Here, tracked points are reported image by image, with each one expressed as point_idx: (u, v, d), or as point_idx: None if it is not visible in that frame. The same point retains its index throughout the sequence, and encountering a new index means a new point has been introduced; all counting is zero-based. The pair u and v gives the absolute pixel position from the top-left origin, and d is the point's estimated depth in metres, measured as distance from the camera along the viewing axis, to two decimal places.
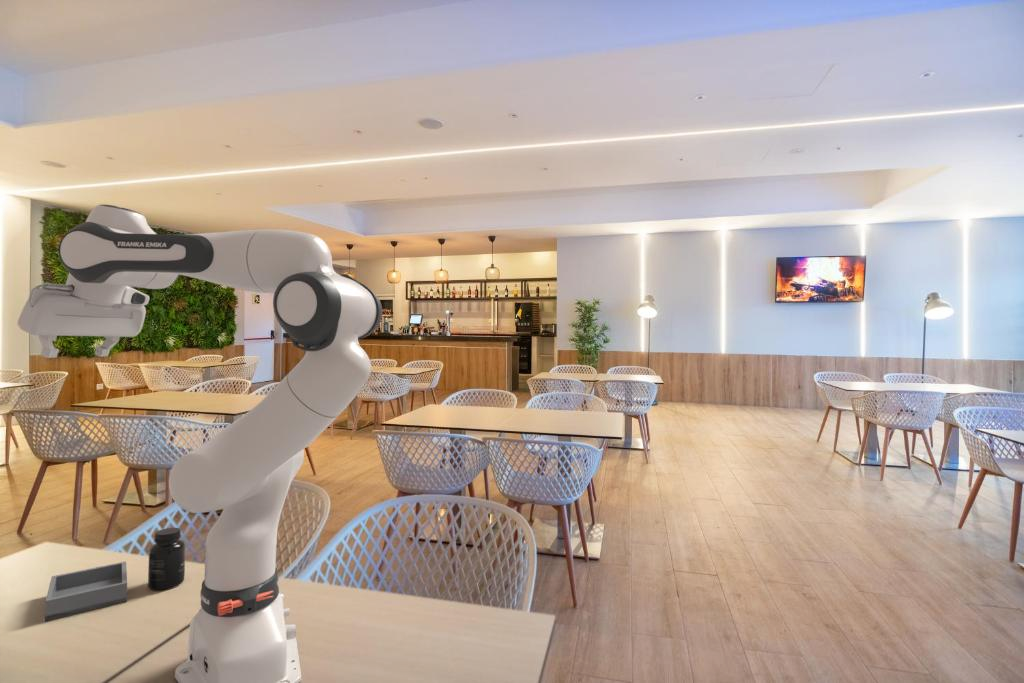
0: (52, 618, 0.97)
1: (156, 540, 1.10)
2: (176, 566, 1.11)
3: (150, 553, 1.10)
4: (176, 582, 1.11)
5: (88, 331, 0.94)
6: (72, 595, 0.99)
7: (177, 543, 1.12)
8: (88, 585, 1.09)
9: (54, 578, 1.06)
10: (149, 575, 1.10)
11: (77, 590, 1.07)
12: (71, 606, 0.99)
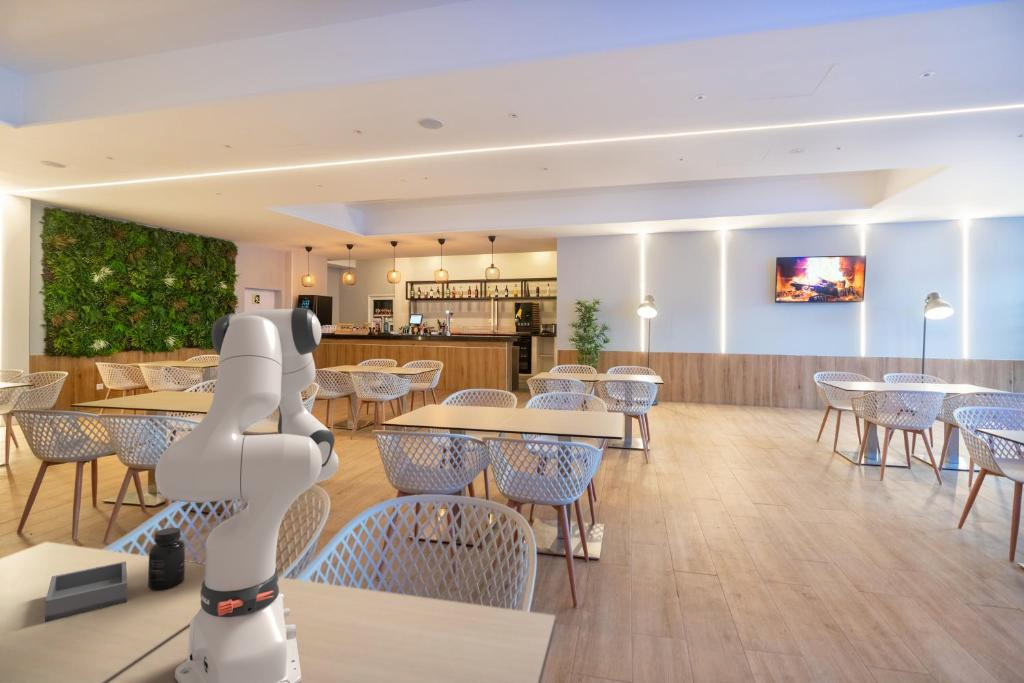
0: (52, 618, 0.97)
1: (156, 540, 1.10)
2: (176, 566, 1.11)
3: (150, 553, 1.10)
4: (176, 582, 1.11)
5: None
6: (72, 595, 0.99)
7: (177, 543, 1.12)
8: (88, 585, 1.09)
9: (54, 578, 1.06)
10: (149, 575, 1.10)
11: (77, 590, 1.07)
12: (71, 606, 0.99)
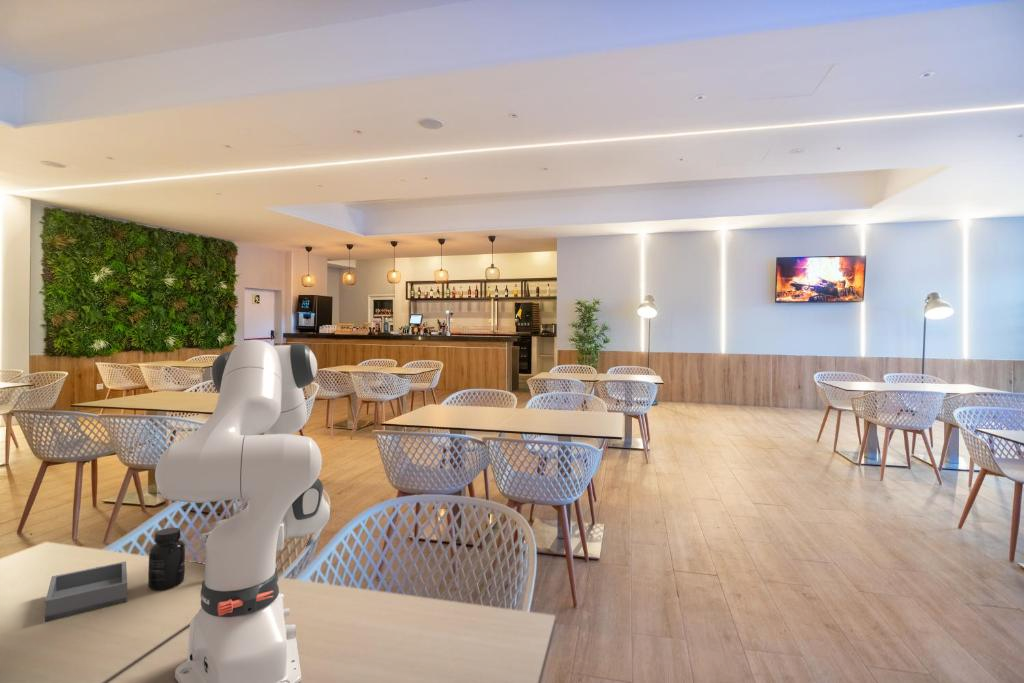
0: (52, 618, 0.97)
1: (156, 540, 1.10)
2: (176, 566, 1.11)
3: (150, 553, 1.10)
4: (176, 582, 1.11)
5: None
6: (72, 595, 0.99)
7: (177, 543, 1.12)
8: (88, 585, 1.09)
9: (54, 578, 1.06)
10: (149, 575, 1.10)
11: (77, 590, 1.07)
12: (71, 606, 0.99)
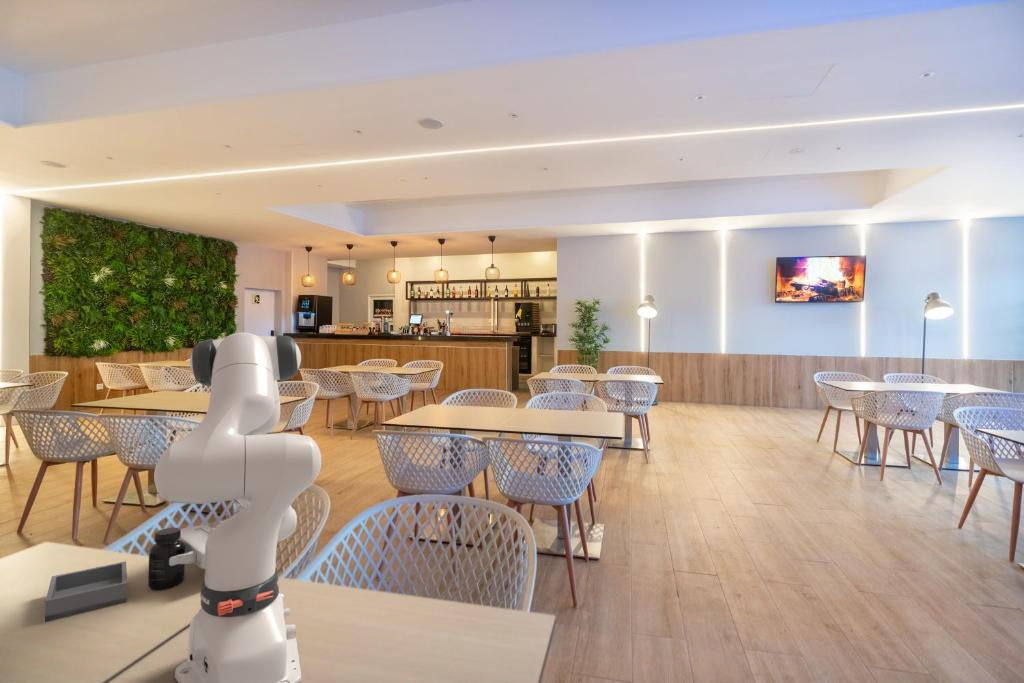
0: (52, 618, 0.97)
1: (156, 540, 1.10)
2: (176, 566, 1.11)
3: (150, 553, 1.10)
4: (176, 582, 1.11)
5: (190, 539, 1.17)
6: (72, 595, 0.99)
7: (177, 543, 1.12)
8: (88, 585, 1.09)
9: (54, 578, 1.06)
10: (149, 575, 1.10)
11: (77, 590, 1.07)
12: (71, 606, 0.99)
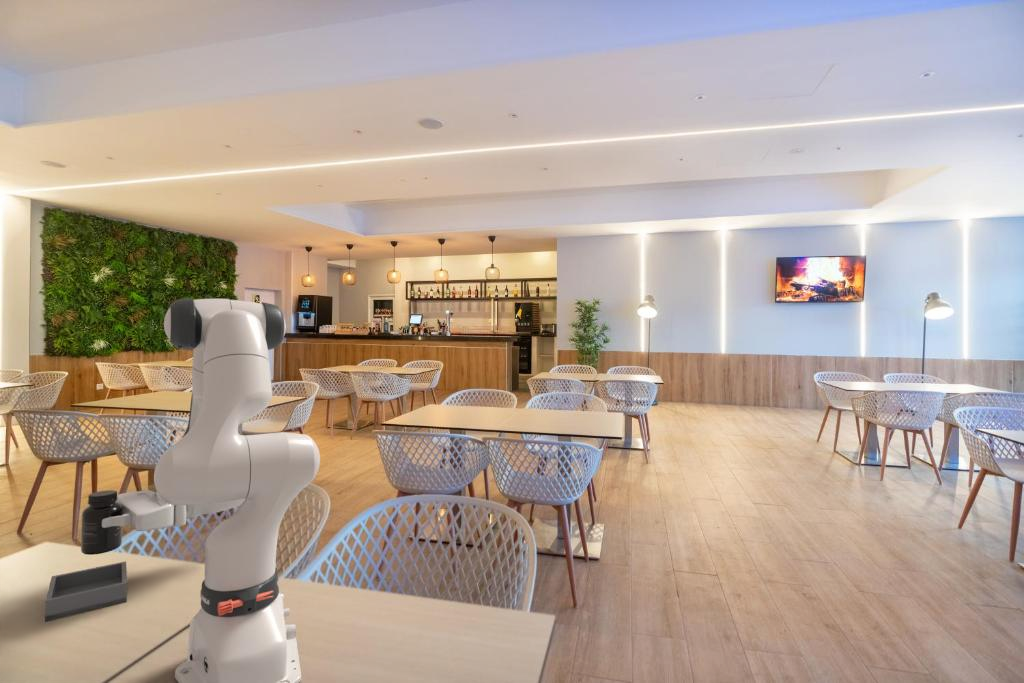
0: (52, 618, 0.97)
1: (89, 502, 1.05)
2: (111, 530, 1.05)
3: (82, 515, 1.04)
4: (111, 546, 1.05)
5: (129, 502, 1.11)
6: (72, 595, 0.99)
7: (112, 505, 1.06)
8: (88, 585, 1.09)
9: (54, 578, 1.06)
10: (82, 538, 1.04)
11: (77, 590, 1.07)
12: (71, 606, 0.99)
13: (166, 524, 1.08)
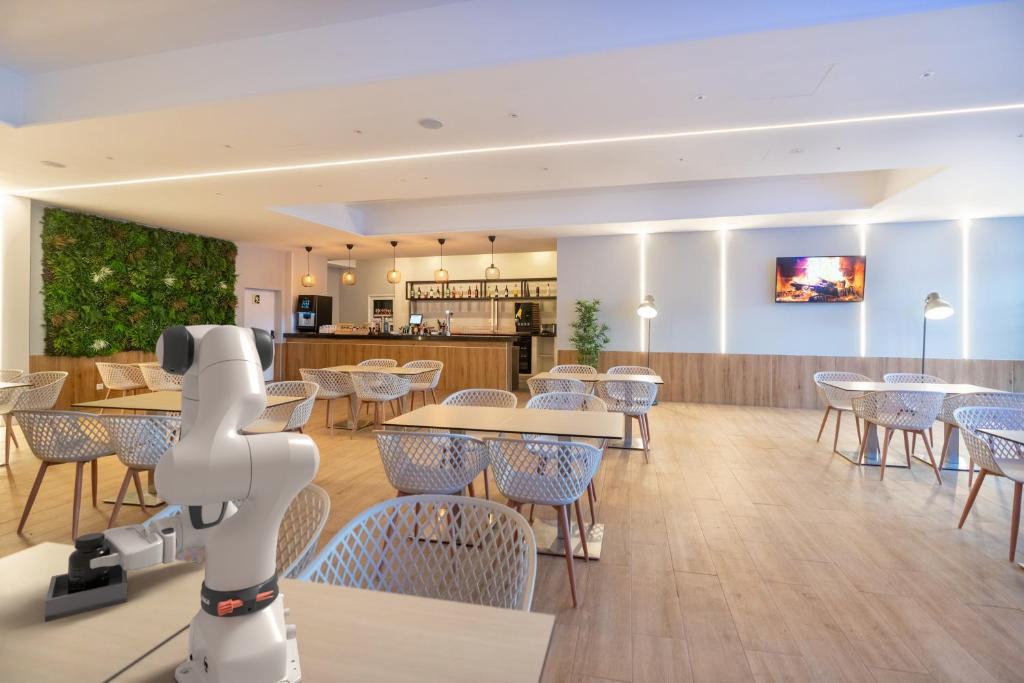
0: (52, 618, 0.97)
1: (76, 546, 1.04)
2: (98, 574, 1.05)
3: (69, 560, 1.03)
4: None
5: (117, 539, 1.10)
6: (72, 595, 0.99)
7: (99, 549, 1.06)
8: None
9: (54, 578, 1.06)
10: (68, 583, 1.03)
11: None
12: (71, 606, 0.99)
13: (155, 562, 1.07)
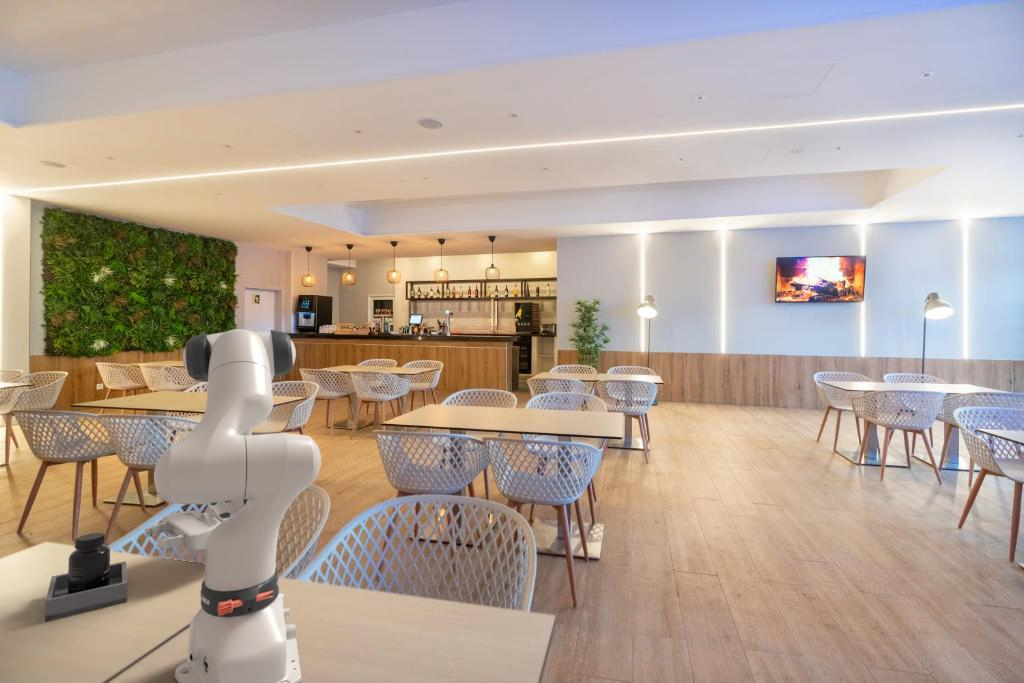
0: (52, 618, 0.97)
1: (76, 546, 1.04)
2: (98, 574, 1.05)
3: (69, 560, 1.03)
4: None
5: (179, 523, 1.19)
6: (72, 595, 0.99)
7: (99, 549, 1.06)
8: None
9: (54, 578, 1.06)
10: (68, 583, 1.03)
11: None
12: (71, 606, 0.99)
13: None
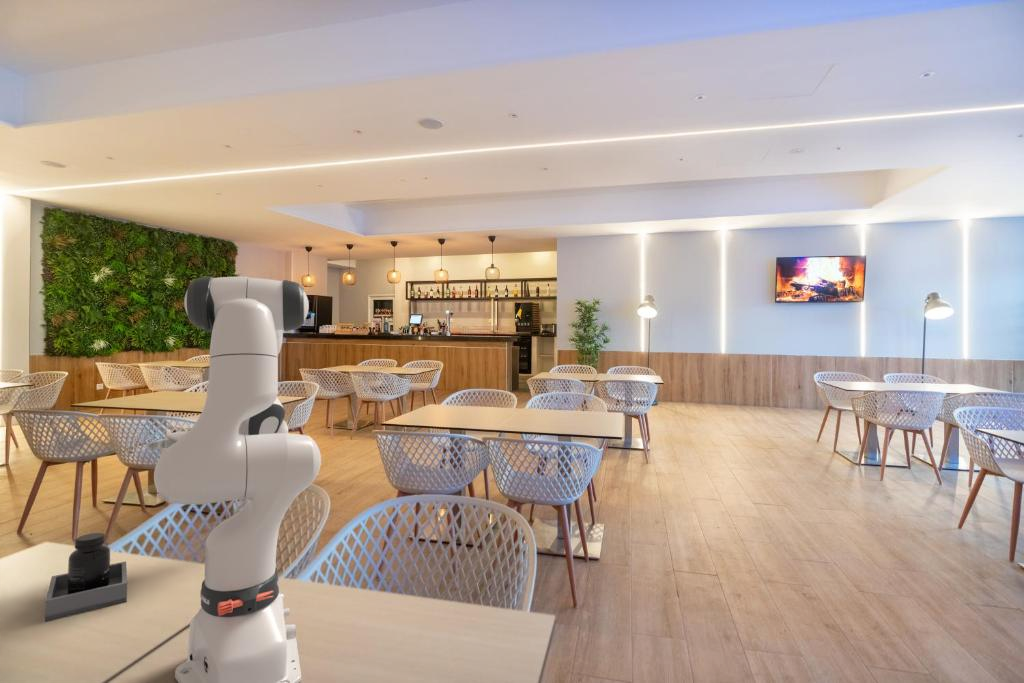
0: (52, 618, 0.97)
1: (76, 546, 1.04)
2: (98, 574, 1.05)
3: (69, 560, 1.03)
4: None
5: (182, 438, 1.19)
6: (72, 595, 0.99)
7: (99, 549, 1.06)
8: None
9: (54, 578, 1.06)
10: (68, 583, 1.03)
11: None
12: (71, 606, 0.99)
13: None
